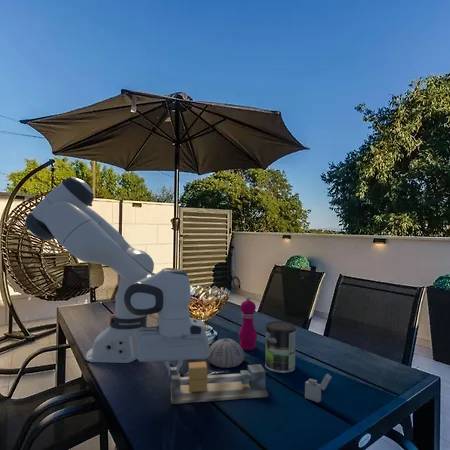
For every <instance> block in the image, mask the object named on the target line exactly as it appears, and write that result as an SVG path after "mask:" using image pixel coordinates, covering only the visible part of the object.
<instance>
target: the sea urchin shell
mask: <svg viewBox="0 0 450 450" xmlns="http://www.w3.org/2000/svg"><path fill="white" fill-rule="evenodd" d="M209 349H210V355H209V356H208V358H207V361H208V362H209V363H210V364H212V365H214V366H215V367H219V368H222V369H225V368H227V369H228V368H229V369H230V368H236V367H238V366H240V364H242V363H243V362H244V361H245V359H246V358H245V350H243V349H242V348H241V347H240V343H238V342H236V341H235V340H234V339H232V338H221V339H218V340H215V341H214V342H213V343H212V344H211V345H210V346H209Z"/></svg>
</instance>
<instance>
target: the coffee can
mask: <svg viewBox="0 0 450 450" xmlns="http://www.w3.org/2000/svg"><path fill="white" fill-rule="evenodd" d="M296 330H297V325H295V324H294V323H291V322H287V321H282V320H281V321H280V320H279V321H278V320H276V321H269V322H266V324H265V362H264V363H265V365H264V366H265V368H266V369H267V370H269V371H271V372H275V373H278V374H279V373H280V374H286V373H291V372H293V371H295V370H296Z"/></svg>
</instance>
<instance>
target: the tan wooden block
mask: <svg viewBox="0 0 450 450" xmlns="http://www.w3.org/2000/svg"><path fill="white" fill-rule="evenodd" d="M207 376H208V365H207V362H206V361H195V362H188V377H189V392H195V391H207Z"/></svg>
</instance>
